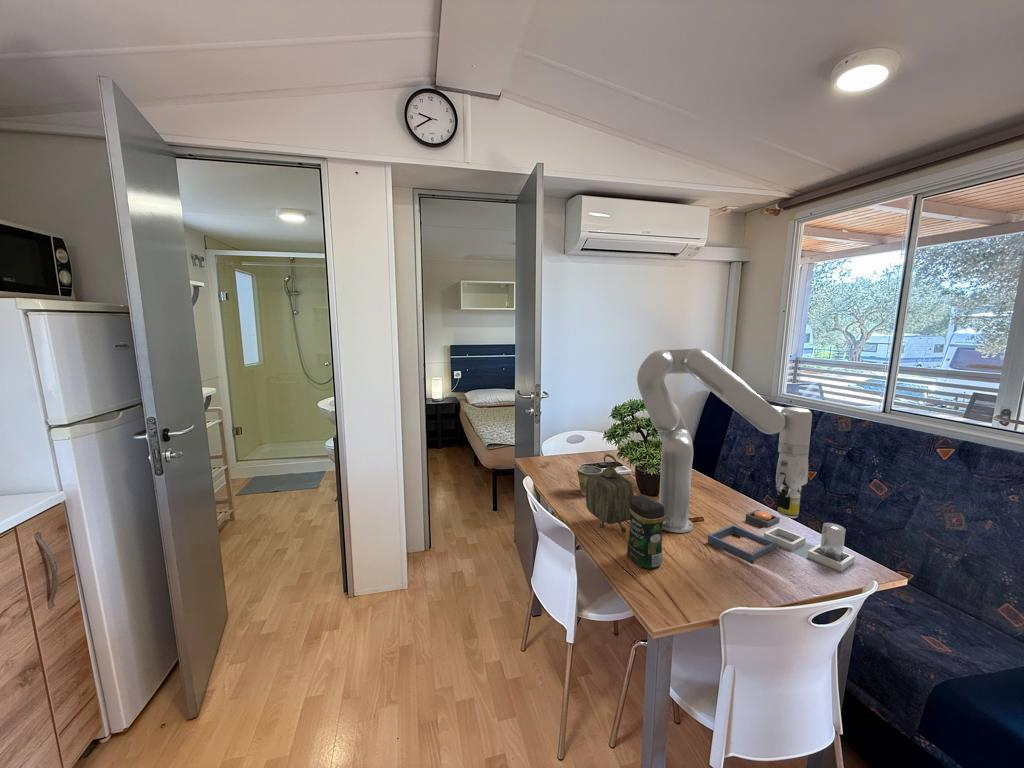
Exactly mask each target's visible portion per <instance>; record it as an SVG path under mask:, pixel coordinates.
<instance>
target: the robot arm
mask: <svg viewBox="0 0 1024 768" xmlns="http://www.w3.org/2000/svg"><path fill="white" fill-rule="evenodd" d="M668 374H678V375H679V374H689V375H691V376H692V377H693V378H695V379H696V380H697V381H698V382H700V384H702V386H705V387H706V388H707V389H708V390H709V391H710V392H711V393H713V394H714V395H715V396H716V397H717V398H719V399H720V400H721V401H722V402H723V403H725V404H727V405H728V407H731V408H732V410H734V411H735V412H736V413H738V414H739V415H740V416H742V418H744V419H745V420H746V421H748V422H749V423H750V424H751V425H752V426H754V427H755V428H756V429H757V430H758V431H760V432H761V433H764V434H767V435H776V434H778V433H779V436H778V437H779V438H778V449H777V452H778V453H779V455H778V459H777V465H776V474H775V484H776V485H775V489H776V491H777V501H776V506H777V508H778V507H780V508H783V509H786V510H789V509H790V498H791V497H789V495H790V491H791V489H795V488H798V492H799V493H800V496H801V494H802V493H801V492H802V486H805V485H806V484H807V483H808V482H809V481H808V480H809V479H808V478H809V452H810V442H811V433H812V432H811V431H812V422H813V421H812V420H813V413H812V411H811V410H810V409H807V408H804V407H797V406H794V407H792V406H788V407H784V406H783V407H782V406H776V405H772V404H770V403H769V402H768V401H766V399H764V398H762V396H761V395H760V394H758V393H757V392H755V391H754V390H753V389H752V388H751V387H750V386H749V385H748V384H747V383H746V382H745V381H744V380H743V379H742V378H741V377H739V376H738V375H737V374H735V373H734V372H733V371H732V370H731V369H729V368H728V367H727V366H726V365H724V364H723V363H722V362H720V361H719V360H718V359H716V358H715V357H714V356H713V354H711V353H709V352H708V351H707V350H705V349H702V348H697V347H696V348H687V349H685V348H683V349H659V350H656V351H653V352H652V353H650V354H649V355H648V356H647V357H646V358H645V359H644V360H643V362H642V364H641V365H640V367H639V369H638V372H637V376H636V382H637V387H638V390H639V392H640V395H641V398H642V402H643V404H644V407H645V410H646V412H647V414H648V416H649V420H650V423H651V424H652V426H653V427H654V428H655V430H657V431H658V434H659V436H660V438H661V441H662V444H661V453H660V454H661V456H660V457H661V458H660V475H659V476H660V477H659V479H660V481H659V494H658V495H659V496H658V497H659V499H658V502H659V503H660V504H662V505H663V506H664V511H665V518H664V521H663V525H662V531H663V530H664V531H666V532H670V533H677V534H683V533H688V532H691V531H692V530H693V529H694V528H693V527H694V524H693V522H692V521H691V520H690V519H689V513H690V499H691V497H690V496H691V484H692V483H691V481H692V468H693V459H694V444H693V440H692V436H691V434H690V431H689V429H688V427H687V425H686V424H687V423H686V422H685V419H684V417H683V415H682V412H681V410H680V408H679V406H678V405H677V404H676V403H674V402H673V400H672V398H671V396H670V393H669V390H668V388H667V385H666V383H665V378H666V376H667V375H668ZM784 483H785V484H787V486H785V485H784ZM783 487H784V488H787V491H786V490H785V489H783Z"/></svg>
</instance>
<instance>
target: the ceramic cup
mask: <svg viewBox="0 0 1024 768" xmlns="http://www.w3.org/2000/svg"><path fill="white" fill-rule="evenodd" d="M603 470H604V468H602V467H599V466H595V465H580V466H578V467H577V469H576V471H577V477H578V483H579V488H580V489H579V490H580V494H581V495H582V496H584V497H586V487H587V479H588V477H589V476H590V475H591V474H597V473H602V472H603Z"/></svg>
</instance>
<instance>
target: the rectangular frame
mask: <svg viewBox="0 0 1024 768" xmlns="http://www.w3.org/2000/svg"><path fill="white" fill-rule="evenodd" d="M733 534H734V535H736V536H739V537H741V538H744V537H747V538H749V539H752V540H755V541H757V542H759V543H761V544H764V545H765V546H763V547H762V548H759V549H758V550H756V551H753V552H749V551H746V550H744V549H743V548H740V547H738V546H735V545H733V544H731V543H729V542H727V541H725V540H722V539H723V538H725V537H727V536H729V535H730V536H731V535H733ZM707 543H708V544H710V545H712V546H714V547H716V548H718V549H720V550H722V551H724V552H727V553H729V554H731V555H732V556H735V557H737V558H739V559H741V560H743V561H745V562H747V563H749V564H753V563H755V562H754V560H756V559H758V558H760V557H761V556H763V555H765V554H767V553H769V552H771V551H773V550H775V549H777V546H776V544H777V543H775V542H773V541H771V540H768V539H766V538H763V537H762V536H761V535H758V534H756V533H755V532H754V533H753V532H751V531H749V530H746V529H744V528H742V527H739V526H737V525H734V524H731V525H729V526H727V527H726V526H725V527H724V528H722V529H719V530H716V531H714V532H712V533H710V534H708V535H707Z"/></svg>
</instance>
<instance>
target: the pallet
mask: <svg viewBox="0 0 1024 768" xmlns="http://www.w3.org/2000/svg"><path fill="white" fill-rule="evenodd" d="M761 537H763V538H766V539H768V540H771V541H773V542H775V543H777V544H776V547H778V548H780V549H783V550H785V551H788V552H790V553H792V554H795V555H797V556H799V557H801V558H804V559H806V560H809V561H811V562H814V563H816V564H817V565H820V566H823V567H826V568H828V569H830V570H833V571H834V572H837V573H839V574H841V575H846V574H847V573H849V572H850V571H851V570H853V569H854V568H856V567H857V566H858V565H860V563H859V562H856V561H855V557H856V556H854V555H852V554H851V553H850V554H849V553H847V552H845V551H843V556H842V561H841V562H838V561H835V560H833V559H830V558H828V557H825V556H823V555H820V546H821V542H820V543H819V544H817V545H813V544H811V543H808V542H806V541H807V540H806V539H807V538H806V536H803V535H800V534H798V533H795V532H793V531H789V530H787V529H784V528H782V527H779V526H776V527H774V528H771V529H769V530H767V531H765V532H764V533H763V536H761Z"/></svg>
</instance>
